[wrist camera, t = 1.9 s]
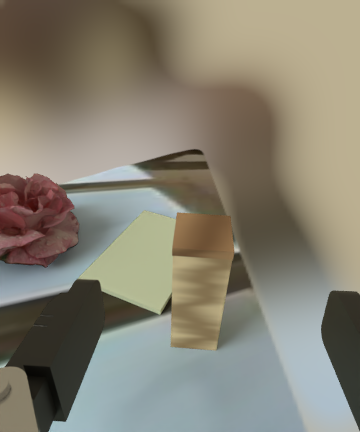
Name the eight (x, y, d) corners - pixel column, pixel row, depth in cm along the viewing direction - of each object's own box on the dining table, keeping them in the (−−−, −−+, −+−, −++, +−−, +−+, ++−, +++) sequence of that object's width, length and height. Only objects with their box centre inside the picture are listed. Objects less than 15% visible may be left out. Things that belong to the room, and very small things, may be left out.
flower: (-63, 291, 32) (-68, 202, 28) (-40, 226, 43) (-41, 158, 40) (85, 282, 39) (96, 211, 35) (70, 228, 51) (77, 171, 47)
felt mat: (78, 281, 37) (77, 278, 37) (144, 213, 49) (144, 210, 49) (160, 314, 34) (160, 311, 33) (209, 232, 46) (209, 229, 45)
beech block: (170, 347, 31) (172, 247, 23) (174, 309, 34) (177, 212, 27) (216, 351, 30) (234, 252, 23) (215, 312, 34) (230, 216, 26)
